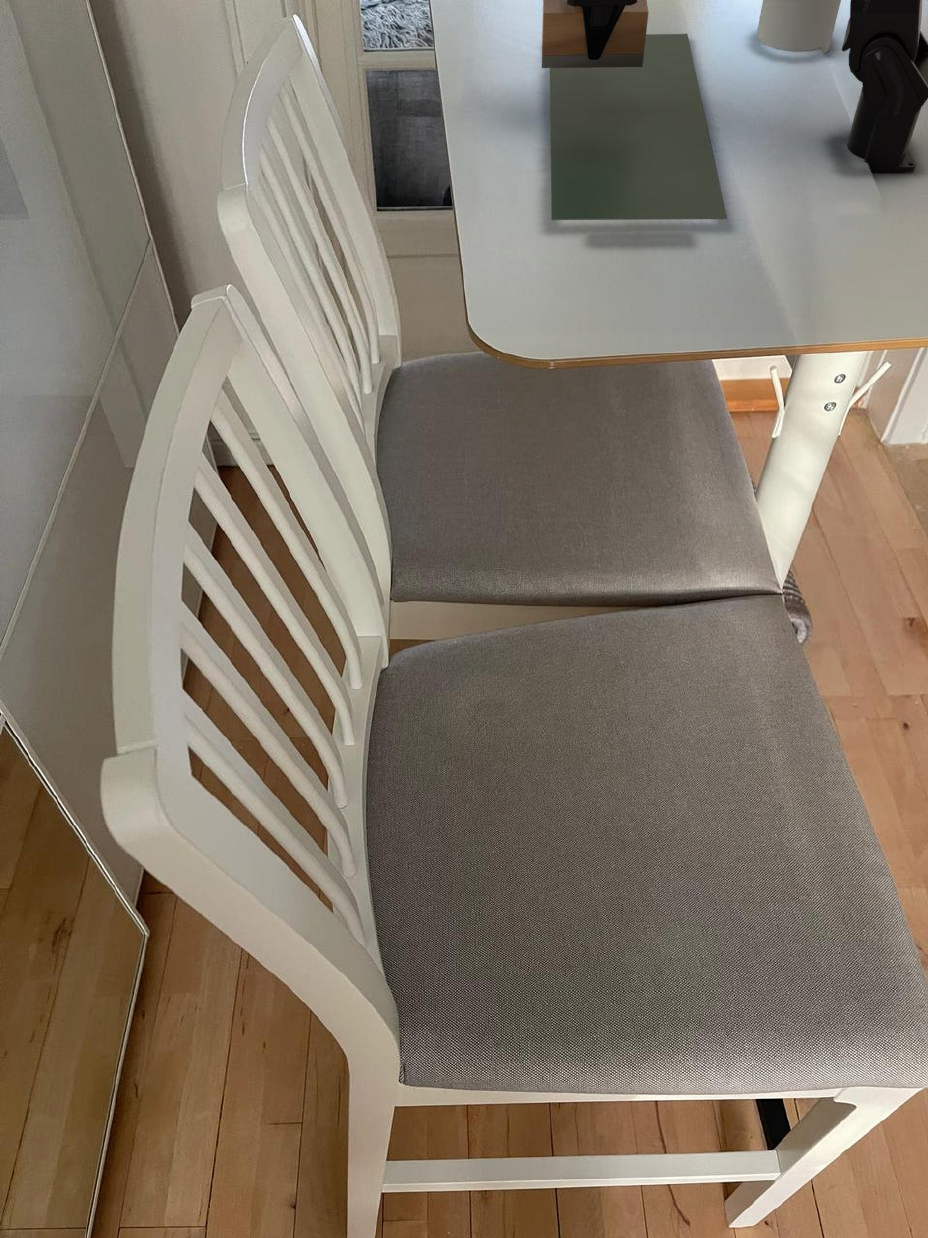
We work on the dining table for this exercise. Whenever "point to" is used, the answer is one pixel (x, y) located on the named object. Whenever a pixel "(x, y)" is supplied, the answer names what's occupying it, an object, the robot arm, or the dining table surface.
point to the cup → (798, 24)
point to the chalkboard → (633, 140)
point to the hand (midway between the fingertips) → (593, 49)
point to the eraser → (569, 40)
